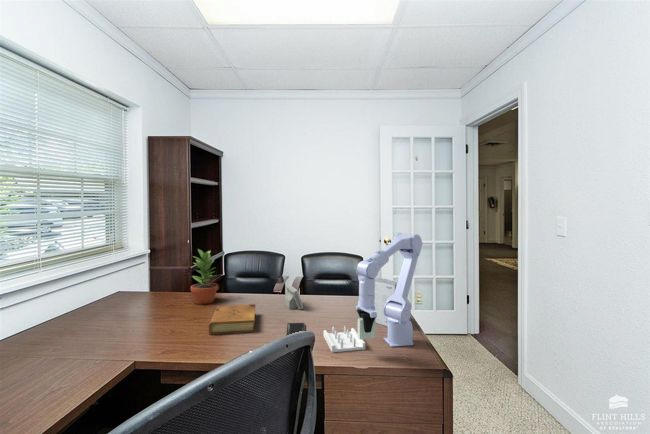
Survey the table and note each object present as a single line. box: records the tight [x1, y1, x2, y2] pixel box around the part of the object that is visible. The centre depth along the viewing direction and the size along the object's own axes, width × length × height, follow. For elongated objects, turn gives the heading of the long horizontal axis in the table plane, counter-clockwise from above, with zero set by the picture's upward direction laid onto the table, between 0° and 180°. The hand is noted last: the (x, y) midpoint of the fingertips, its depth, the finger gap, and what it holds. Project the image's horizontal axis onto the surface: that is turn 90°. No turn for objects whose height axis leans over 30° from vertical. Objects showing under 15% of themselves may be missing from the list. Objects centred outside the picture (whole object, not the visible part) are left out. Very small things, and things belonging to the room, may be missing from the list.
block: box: [357, 317, 376, 340], centre depth 121 cm, size 6×2×7 cm, turn 103°
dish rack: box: [323, 325, 366, 353], centre depth 132 cm, size 13×16×4 cm
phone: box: [286, 322, 306, 336], centre depth 144 cm, size 8×1×15 cm
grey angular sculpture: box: [284, 284, 304, 310], centre depth 178 cm, size 16×9×11 cm, turn 11°
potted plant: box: [190, 248, 219, 305], centre depth 186 cm, size 15×15×30 cm
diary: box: [208, 303, 256, 335], centre depth 152 cm, size 23×19×6 cm
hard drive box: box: [375, 276, 402, 327], centre depth 154 cm, size 16×8×20 cm, turn 47°
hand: (366, 330), depth 121 cm, fingers closed on block, 2 cm apart
